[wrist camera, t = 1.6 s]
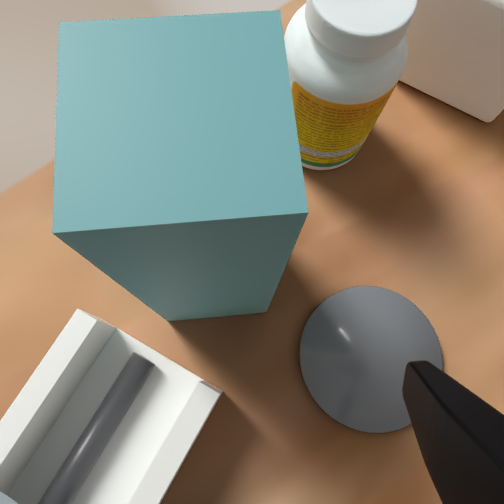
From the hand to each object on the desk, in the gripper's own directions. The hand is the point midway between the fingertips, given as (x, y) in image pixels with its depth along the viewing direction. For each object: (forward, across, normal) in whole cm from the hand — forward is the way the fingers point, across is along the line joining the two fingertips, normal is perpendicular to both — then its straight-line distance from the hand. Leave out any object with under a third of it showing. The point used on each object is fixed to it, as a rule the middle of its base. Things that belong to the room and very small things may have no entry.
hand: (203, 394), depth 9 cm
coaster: (+9, -7, +8) cm, 14 cm away
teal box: (+13, 0, +5) cm, 14 cm away
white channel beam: (+6, +7, +11) cm, 14 cm away
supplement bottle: (+18, -6, -1) cm, 19 cm away
